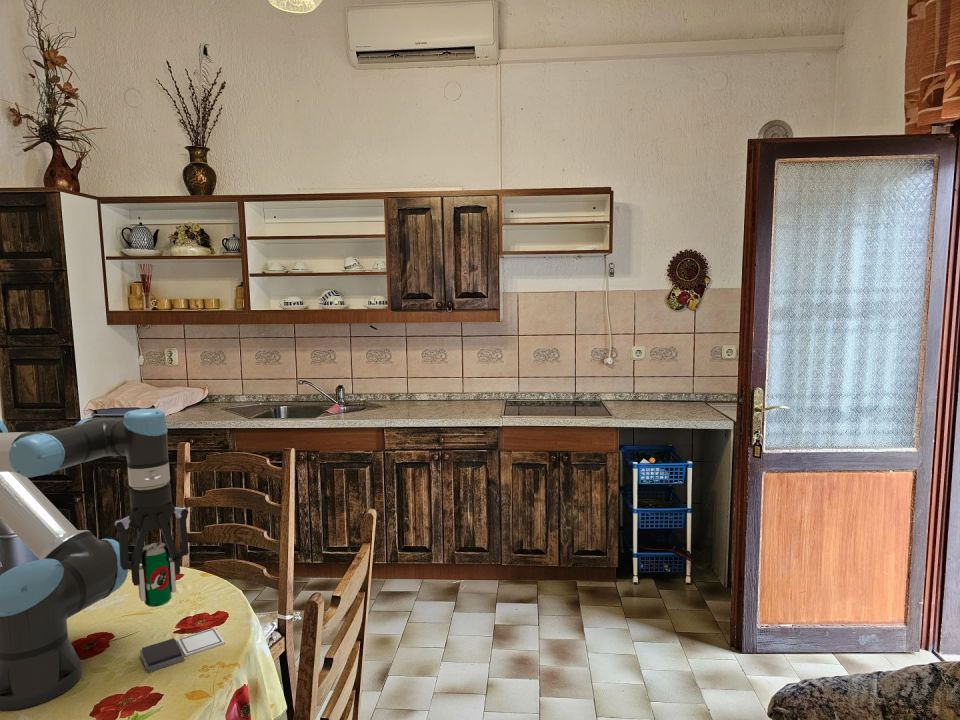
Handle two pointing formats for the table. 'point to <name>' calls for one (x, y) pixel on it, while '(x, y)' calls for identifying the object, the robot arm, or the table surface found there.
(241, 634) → the table surface
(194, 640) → the print card
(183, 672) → the table surface
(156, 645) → the ink pad
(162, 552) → the soda can
